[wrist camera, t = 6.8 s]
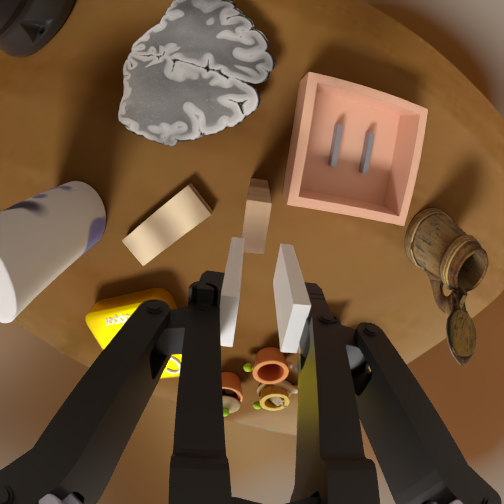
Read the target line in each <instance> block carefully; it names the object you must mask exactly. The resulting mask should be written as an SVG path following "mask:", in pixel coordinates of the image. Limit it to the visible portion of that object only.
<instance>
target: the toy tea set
mask: <svg viewBox="0 0 504 504" xmlns="http://www.w3.org/2000/svg"><path fill="white" fill-rule="evenodd" d="M298 351H299V353H300V352H301V351H300V345H299V347H298ZM292 367H293V363H292V362H286V360H285V357H284V354H283V352H280V349H278V348H275V347H266V348H263V349H261V350H260V351H259V352H258V353H257V355H256V358H255V363H254V365H252V364H251V363H245V364H244V366H243V368H244V370H245V371H246V372H250V371H252V370H253V376H254V378H255V379H256V380H257V381H258V382H261V384H260V385H259V386H258V388H257V394H258V396H259V397H260V402H259V401H257V402H255V403H254V404H253V407H254V408H255V409H260V408H261V407H262V408H264V409H266V410H271V411H275V410H281V409H283V408H287V406H288V405H289V403H290V399H289V397H290V396H291V395H292V393H298V388H297V387H295V386H292V384H291V383H290V382H288V381H286V380H284V379H285V378H286V377H287V376H288V373H289V369H288V368H292ZM222 395H223V416H228V414H229V413H233V412H235V411H237V410H238V409H239V408H240V403H241V402H242V400H243V395H242V388H241V382H240V378H239V377H238V376H237V375H236V374H234V373H232V372H222Z"/></svg>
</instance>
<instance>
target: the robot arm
mask: <svg viewBox="0 0 504 504" xmlns="http://www.w3.org/2000/svg"><path fill="white" fill-rule="evenodd" d="M73 3H74V0H0V49H1V50H2V51H3V52H5V53H6V54H8V55H10V56H15V57H26V56H29V55H32V54H34V53H35V52H37V51H38V50H40V49H41V48H42V47H43V46H45V45H46V44H47V43H48V42H49V41H50V40H51V39H52V38H53V37H54V35H55V34H56V33H57V32H58V30H59V29H60V28H61V26H62V25H63V23H64V22H65V20H66V18H67V17H68V15H69V13H70V11H71V8H72V6H73ZM244 240H245V239H244V238H236V237H232V240H231V245H230V250H229V255H228V260H227V265H226V270H225V273H221V272H214V271H206V272H204V273H203V274H202V275H201V278H200V281H198V282H194V283H192V284H191V285H190V287H189V298H188V306H186V307H184V308H179V309H170V307H169V305H168V304H167V303H166V302H164V301H162V300H156V299H152V300H147V301H144V302H143V303H141V304H140V305H139V306H138V308H137V309H136V310H135V311H134V312H133V314H132V315H131V316H130V317H129V318H128V320H127V321H126V322H125V323H124V325H123V326H122V327H121V328H120V330H119V331H118V332H117V333H116V335H115V336H114V337H113V338H112V340H111V341H110V342H109V343H108V345H107V346H106V347H105V349H104V350H103V351H102V352H101V354H100V355H99V356H98V358H97V359H96V360H95V361H94V363H93V364H92V365H91V367H90V368H89V370H88V371H87V372H86V373H85V375H84V376H83V377H82V379H81V380H80V381H79V383H78V384H77V385H76V387H75V388H74V390H73V391H72V392H71V394H70V395H69V396H68V398H67V399H66V401H65V402H64V403H63V405H62V406H61V408H60V409H59V410H58V412H57V413H56V415H55V416H54V417H53V419H52V420H51V422H50V423H49V425H48V426H47V428H46V429H45V431H44V432H43V434H42V435H41V437H40V438H39V440H38V441H37V443H36V444H35V446H34V447H33V448H32V449H31V450H29V451H28V452H27V453H25V454H24V455H22V456H21V457H19V458H18V459H16V460H15V461H14V462H12V463H11V464H9V465H8V466H6V467H5V468H3V469H2V470H0V504H96V503H97V502H98V500H99V499H100V497H101V496H102V494H103V492H104V490H105V488H106V486H107V484H108V482H109V480H110V478H111V476H112V474H113V472H114V470H115V468H116V466H117V463H118V461H119V459H120V457H121V455H122V453H123V451H124V449H125V447H126V445H127V443H128V441H129V439H130V437H131V435H132V433H133V431H134V429H135V427H136V425H137V423H138V421H139V419H140V417H141V415H142V413H143V411H144V409H145V407H146V405H147V403H148V401H149V399H150V397H151V395H152V393H153V391H154V389H155V387H156V385H157V383H158V381H159V379H160V378H161V376H162V374H163V372H164V370H165V368H166V366H167V364H168V362H169V360H170V358H171V355H180V354H182V357H181V366H180V375H179V385H178V395H177V406H176V419H175V431H174V446H173V454H172V456H171V462H170V478H169V504H261V503H257V502H252V501H249V500H244V499H241V498H236V497H232V496H231V485H230V472H229V463H228V459H227V457H226V449H225V434H224V416H223V395H222V372H221V346H228V347H233V339H234V332H235V325H236V318H237V311H238V304H239V297H240V285H241V274H242V262H243V251H244ZM273 286H274V295H275V304H276V313H277V323H278V332H279V342H280V352H287V353H297V350H298V347H299V345H300V351H301V352H300V355H299V358H298V361H297V364H296V366H295V369H294V371H297V368H298V411H297V446H296V469H295V486H294V490H293V493H292V496H291V500H290V503H286V504H380V498H379V489H378V480H377V473H376V467H375V464H374V462H373V461H372V460H371V459H366V457H365V455H364V449H363V442H362V434H361V427H360V421H361V423H362V425H363V428H364V430H365V432H366V435H367V437H368V439H369V441H370V444H371V446H372V448H373V451H374V453H375V455H376V458H377V460H378V463H379V465H380V467H381V470H382V472H383V474H384V477H385V479H386V482H387V484H388V487H389V489H390V492H391V494H392V496H393V499H394V501H395V503H396V504H501V498H500V496H499V494H498V493H497V492H496V491H495V490H494V489H493V488H492V487H491V486H490V485H489V484H488V483H486V481H484V480H483V479H482V478H481V477H480V476H479V475H478V474H477V473H476V472H475V471H474V470H473V469H472V468H471V467H469V466H468V464H467V462H466V461H465V459H464V457H463V455H462V453H461V451H460V450H459V448H458V446H457V445H456V443H455V441H454V439H453V438H452V436H451V434H450V433H449V431H448V430H447V428H446V426H445V424H444V423H443V421H442V419H441V418H440V416H439V414H438V413H437V411H436V410H435V408H434V406H433V405H432V403H431V402H430V400H429V398H428V397H427V396H426V394H425V392H424V391H423V389H422V388H421V386H420V385H419V383H418V382H417V380H416V378H415V377H414V375H413V374H412V373H411V371H410V369H409V368H408V367H407V365H406V364H405V362H404V361H403V359H402V358H401V356H400V355H399V353H398V352H397V350H396V349H395V348H394V346H393V345H392V343H391V342H390V340H389V339H388V338H387V336H386V335H385V333H384V332H383V331H382V330H381V329H380V327H378V326H376V325H375V324H372V323H366V322H364V323H360V324H359V325H358V326H357V329H352V328H349V327H345V326H343V325H341V321H340V319H339V318H338V317H337V316H336V315H335V314H333V313H331V312H330V310H329V307H328V305H327V302H326V300H325V297H324V296H323V295H324V294H323V292H322V289H321V288H320V287H319V286H318V285H317V284H315V283H306V282H304V280H303V276H302V273H301V270H300V267H299V263H298V260H297V257H296V254H295V251H294V248H293V245H287V244H281V245H280V250H279V255H278V260H277V265H276V270H275V275H274V280H273ZM369 366H370V368H371V372H370V371H369V369H368V367H369ZM359 419H360V421H359Z"/></svg>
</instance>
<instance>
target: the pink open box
mask: <svg viewBox="0 0 504 504" xmlns="http://www.w3.org/2000/svg"><path fill="white" fill-rule="evenodd" d="M427 113H428V109H426V108H423V107H421V106H419V105H416V104H414V103H411V102H409V101H406V100H404V99H401V98H398V97H396V96H393V95H390V94H387V93H384V92H381V91H378V90H375V89H372V88H369V87H366V86H363V85H359V84H356V83H352V82H349V81H345V80H342V79H338V78H334V77H330V76H326V75H322V74H317V73H313V72H308V73H307V74H306V75H305V76H304V77H303V78H302V80H301V81H300V82H299V89H298V95H297V102H296V109H295V115H294V122H293V128H292V134H291V141H290V147H289V153H288V159H287V165H286V171H285V177H284V183H283V189H282V194H283V196H284V199H285V201H286V203H287V205H292V206H299V207H305V208H311V209H317V210H323V211H329V212H334V213H340V214H346V215H351V216H356V217H362V218H367V219H372V220H377V221H382V222H387V223H392V224H397V225H401V226H404V224H405V221H406V217H407V213H408V209H409V206H410V202H411V198H412V194H413V189H414V185H415V181H416V176H417V172H418V167H419V162H420V157H421V151H422V146H423V140H424V134H425V127H426V120H427Z"/></svg>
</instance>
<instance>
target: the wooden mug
mask: <svg viewBox="0 0 504 504" xmlns="http://www.w3.org/2000/svg"><path fill="white" fill-rule="evenodd" d="M405 250H406V254H407V256H408V257H409V259H410V260H411V261H412V263H413V264H414V265H415V266H417V267H419V268H421V269H423V270H425V272H426V273H427V275H428V276H429V279H430V282H431V286H432V290H433V294H434V298H435V301H436V303H437V305H438V307H439V309H441V310H442V311H443V312H444V313H445V314H448V315H449V317H448V319H447V324H446V335H447V341H448V345H449V348H450V350H451V353H452V355H453V357H454V358H455V359H456V360H457V362H458V363H459V364H460V365H461V366H464V365H465V364H466V363H467V362H468V361H469V359H470V358H471V357H472V355H473V353H474V350H475V347H476V331H475V326H474V324H473V321H472V319H471V317H470V316H469V314H468V312H467V311H466V307H465V299H466V297H467V291H470V290H472V289H474V288H476V287H477V286H478V285H479V284H480V282H481V281H482V279H483V277H484V275H485V273H486V271H487V267H488V257H487V253H486V251H485V250H484V249H483V248H482V247H481V244H480V243H479V242H478V241H477V240H476V239H475V238H474V237H473V236H470V235H467V234H466V233H465V232H464V231H463V230H462V229H460V228H459V227H458V226H457V225H456V224H455V223H454V222H453V221H452V219H451V218H450V217H449V216H448V215H447V214H446V213H444V212H443V211H442V210H440V209H438V208H428V209H425V210H423V211H421V212H419V213H418V214H417V215H416V216H415V217H414V218H413V219H412V221H411V223H410V224H409V227H408V229H407V232H406V238H405ZM443 284H444V285H445V286H446V288H447V289H448V290H452V292H451V294H450V295H449V296H444V293H443Z"/></svg>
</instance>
